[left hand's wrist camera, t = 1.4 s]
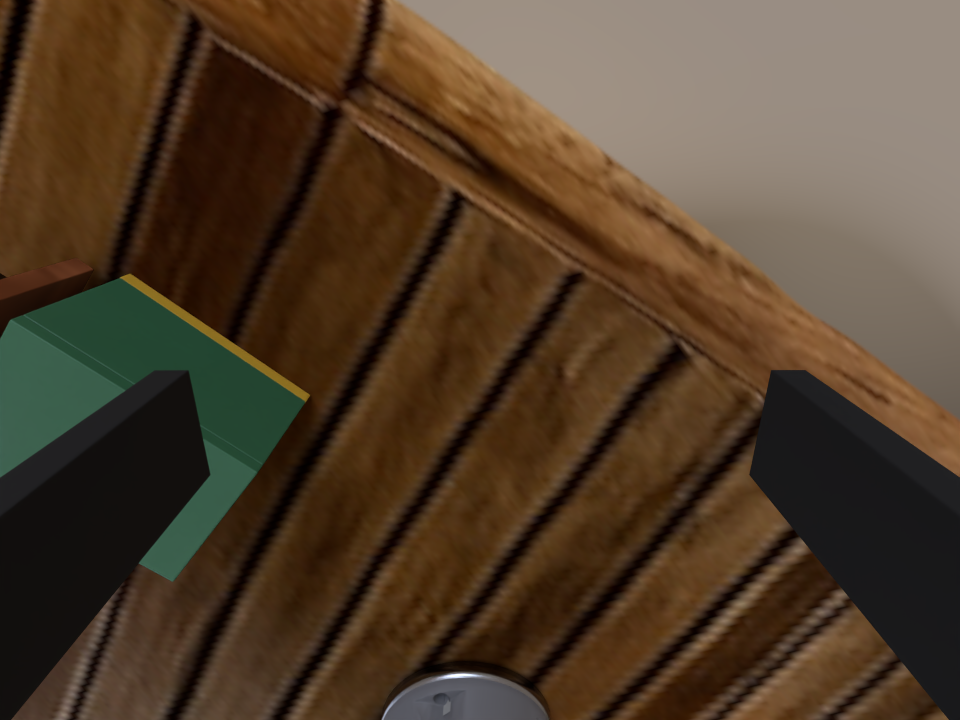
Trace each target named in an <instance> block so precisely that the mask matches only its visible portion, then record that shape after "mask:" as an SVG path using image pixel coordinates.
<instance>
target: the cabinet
mask: <svg viewBox="0 0 960 720" xmlns="http://www.w3.org/2000/svg"><path fill="white" fill-rule="evenodd" d="M154 370H189V374H190V379H191V384H192V388H193V393H194V398H195V403H196V407H197V412H198V417H199V422H200V427H201V431H202V436H203V441H204V446H205V450H206V455H207V460H208V465H209V470H210V474H211V475H210V476H209V477H208V479H207V480H206V481H205V482H204V484H203V485H202V486H201V487H200V488H199V490H198V491H197V492H196V493H195V495H194V496H193V497H192V498H191V500H190V501H189V502H188V503H187V504H186V506H185V507H184V508H183V509H182V511H181V512H180V513H179V514H178V515H177V517H176V518H175V519H174V520H173V522H172V523H171V524H170V525H169V527H168V528H167V529H166V530H165V531H164V533H163V534H162V535H161V536H160V538H159V539H158V540H157V541H156V542H155V544H154V545H153V546H152V547H151V549H150V550H149V551H148V552H147V553H146V555H145V556H144V557H143V558H142V560H141V561H140V562H139V564H141V565H143V566H145V567H146V568H148V569H150V570H152V571H154V572H156V573H157V574H159V575H161V576H163V577H165V578H167V579H168V580H170V581H174V580H175V579H176V578H177V576H178V575H179V574H180V573H181V571H182V570H183V569H184V567H185V566H186V565H187V564H188V562H189V561H190V560H191V558H192V557H193V556H194V555H195V553H196V552H197V551H198V549H199V548H200V547H201V545H202V544H203V543H204V542H205V540H206V539H207V538H208V536H209V535H210V534H211V533H212V531H213V530H214V529H215V527H216V526H217V525H218V524H219V522H220V521H221V520H222V518H223V517H224V516H225V515H226V513H227V512H228V511H229V509H230V508H231V507H232V505H233V504H234V503H235V502H236V500H237V499H238V498H239V496H240V495H241V494H242V493H243V491H244V490H245V489H246V487H247V486H248V485H249V484H250V482H251V481H252V480H253V478H254V477H255V476H256V475H257V473H258V472H259V470H260V469H261V467H262V466H263V464H264V463H265V461H266V460H267V458H268V457H269V456H270V454H271V453H272V451H273V450H274V448H275V447H276V445H277V444H278V442H279V441H280V439H281V438H282V436H283V435H284V433H285V432H286V430H287V429H288V427H289V426H290V424H291V423H292V421H293V420H294V419H295V417H296V416H297V414H298V413H299V411H300V410H301V408H302V407H303V405H304V404H305V403H306V401H307V400H308V398H309V397H310V395H309V394H308V393H306V392H305V391H303V390H302V389H300V388H299V387H297V386H296V385H294V384H293V383H292V382H290V381H289V380H287V379H286V378H284V377H283V376H281V375H280V374H278V373H277V372H275V371H274V370H272V369H271V368H269V367H268V366H266V365H265V364H263V363H262V362H260V361H259V360H257V359H256V358H254V357H253V356H251V355H250V354H248V353H247V352H246V351H244V350H243V349H241V348H240V347H238V346H237V345H235V344H234V343H232V342H231V341H229V340H228V339H226V338H225V337H223V336H222V335H220V334H219V333H217V332H216V331H214V330H213V329H211V328H210V327H208V326H207V325H205V324H204V323H202V322H201V321H200V320H198V319H197V318H195V317H194V316H192V315H191V314H189V313H188V312H186V311H185V310H183V309H182V308H180V307H179V306H177V305H176V304H174V303H173V302H171V301H170V300H168V299H167V298H165V297H164V296H162V295H161V294H159V293H158V292H156V291H155V290H154V289H152V288H151V287H149V286H148V285H146V284H145V283H143V282H142V281H140V280H139V279H137V278H136V277H134V276H133V275H131V274H128V275H125V276H123V277H120V278H119V279H116V280H114V281H111V282H109V283H106V284H103V285H101V286H98V287H95V288H93V289H90V290H87V291H85V292H82V293H79V294H77V295H74V296H71V297H69V298H66V299H64V300H61V301H58V302H56V303H53V304H50V305H48V306H45V307H42V308H40V309H37V310H34V311H32V312H29V313H27V314H24V315H21V316H19V317H16V318H14V319H11V320H10V321H9V323H8V325H7V327H6V329H5V331H4V333H3V335H2V337H1V339H0V477H2V476H3V475H5V474H6V473H7V472H9V471H10V470H12V469H13V468H15V467H16V466H18V465H19V464H20V463H22V462H23V461H25V460H26V459H28V458H29V457H31V456H32V455H33V454H35V453H36V452H38V451H39V450H41V449H42V448H43V447H45V446H46V445H48V444H49V443H51V442H52V441H54V440H55V439H56V438H58V437H59V436H61V435H62V434H64V433H65V432H67V431H68V430H69V429H71V428H72V427H74V426H75V425H77V424H78V423H79V422H81V421H82V420H84V419H85V418H87V417H88V416H90V415H91V414H92V413H94V412H95V411H97V410H98V409H100V408H101V407H103V406H104V405H105V404H107V403H108V402H110V401H111V400H113V399H114V398H115V397H117V396H118V395H120V394H121V393H123V392H124V391H126V390H127V389H128V388H130V387H131V386H133V385H134V384H136V383H137V382H139V381H140V380H141V379H143V378H144V377H146V376H147V375H149V374H150V373H151V372H153V371H154Z"/></svg>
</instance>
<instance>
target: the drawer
mask: <svg viewBox="0 0 960 720" xmlns="http://www.w3.org/2000/svg"><path fill="white" fill-rule="evenodd" d="M93 270H94V269H92V268H91V267H89V266H88V265H86V264H85V263H83V262H82V261H80V260H79V259H77V258H74V259H70V260H67V261H63V262H60V263H56V264H53V265H49V266H46V267H42V268H39V269H35V270H32V271H28V272H25V273H21V274H18V275H14V276H11V277H5V276H4V275H2V274H1V273H0V339H1V337H2V335H3V333H4V331H5V329H6V327H7V325H8V323H9V321H10V320H11V319H14V318H16V317H19V316H21V315H24V314H27V313H29V312H32V311H34V310H37V309H40V308H42V307H45V306H48V305H50V304H53V303H56V302H58V301H61V300H64V299H66V298H69V297H71V296H74V295H77V294H79V293H81V292H82V290H83V288H84V286H85V285H86V283H87V281H88V279H89V277H90V276H91V274H92V272H93Z"/></svg>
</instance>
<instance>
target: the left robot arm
mask: <svg viewBox="0 0 960 720" xmlns="http://www.w3.org/2000/svg"><path fill="white" fill-rule="evenodd" d="M210 475H211V474H210V470H209V465H208V460H207V455H206V450H205V446H204V441H203V436H202V431H201V427H200V422H199V417H198V412H197V407H196V403H195V398H194V393H193V388H192V384H191V379H190V374H189V370H154V371H153V372H151V373H150V374H149V375H147V376H146V377H144V378H143V379H141V380H140V381H139V382H137V383H136V384H134V385H133V386H131V387H130V388H128V389H127V390H126V391H124V392H123V393H121V394H120V395H118V396H117V397H115V398H114V399H113V400H111V401H110V402H108V403H107V404H105V405H104V406H103V407H101V408H100V409H98V410H97V411H95V412H94V413H92V414H91V415H90V416H88V417H87V418H85V419H84V420H82V421H81V422H79V423H78V424H77V425H75V426H74V427H72V428H71V429H69V430H68V431H67V432H65V433H64V434H62V435H61V436H59V437H58V438H56V439H55V440H54V441H52V442H51V443H49V444H48V445H46V446H45V447H43V448H42V449H41V450H39V451H38V452H36V453H35V454H33V455H32V456H31V457H29V458H28V459H26V460H25V461H23V462H22V463H20V464H19V465H18V466H16V467H15V468H13V469H12V470H10V471H9V472H7V473H6V474H5V475H3V476H2V477H0V720H11V719H12V718H13V717H14V715H15V714H16V713H17V712H18V711H19V709H20V708H21V707H22V706H23V704H24V703H25V702H26V701H27V699H28V698H29V697H30V696H31V695H32V693H33V692H34V691H35V690H36V688H37V687H38V686H39V685H40V684H41V682H42V681H43V680H44V679H45V677H46V676H47V675H48V674H49V672H50V671H51V670H52V669H53V668H54V666H55V665H56V664H57V663H58V661H59V660H60V659H61V658H62V657H63V655H64V654H65V653H66V652H67V650H68V649H69V648H70V647H71V645H72V644H73V643H74V642H75V641H76V639H77V638H78V637H79V636H80V634H81V633H82V632H83V631H84V630H85V628H86V627H87V626H88V625H89V623H90V622H91V621H92V620H93V619H94V617H95V616H96V615H97V614H98V612H99V611H100V610H101V609H102V607H103V606H104V605H105V604H106V603H107V601H108V600H109V599H110V598H111V596H112V595H113V594H114V593H115V592H116V590H117V589H118V588H119V587H120V585H121V584H122V583H123V582H124V580H125V579H126V578H127V577H128V576H129V574H130V573H131V572H132V571H133V569H134V568H135V567H136V566H137V565H138V563H139V562H140V561H141V560H142V558H143V557H144V556H145V555H146V553H147V552H148V551H149V550H150V549H151V547H152V546H153V545H154V544H155V542H156V541H157V540H158V539H159V538H160V536H161V535H162V534H163V533H164V531H165V530H166V529H167V528H168V527H169V525H170V524H171V523H172V522H173V520H174V519H175V518H176V517H177V515H178V514H179V513H180V512H181V511H182V509H183V508H184V507H185V506H186V504H187V503H188V502H189V501H190V500H191V498H192V497H193V496H194V495H195V493H196V492H197V491H198V490H199V488H200V487H201V486H202V485H203V484H204V482H205V481H206V480H207V479H208V477H209V476H210ZM749 475H750V476H751V477H752V479H753V480H754V481H755V482H756V484H757V485H758V486H759V487H760V488H761V490H762V491H763V492H764V493H765V495H766V496H767V497H768V498H769V500H770V501H771V502H772V503H773V504H774V506H775V507H776V508H777V509H778V511H779V512H780V513H781V514H782V515H783V517H784V518H785V519H786V520H787V522H788V523H789V524H790V525H791V527H792V528H793V529H794V530H795V531H796V533H797V534H798V535H799V536H800V538H801V539H802V540H803V541H804V542H805V544H806V545H807V546H808V547H809V549H810V550H811V551H812V552H813V553H814V555H815V556H816V557H817V558H818V560H819V561H820V562H821V563H822V565H823V566H824V567H825V568H826V569H827V571H828V572H829V573H830V574H831V576H832V577H833V578H834V579H835V580H836V582H837V583H838V584H839V585H840V587H841V588H842V589H843V590H844V592H845V593H846V594H847V595H848V596H849V598H850V599H851V600H852V601H853V603H854V604H855V605H856V606H857V607H858V609H859V610H860V611H861V612H862V614H863V615H864V616H865V617H866V619H867V620H868V621H869V622H870V623H871V625H872V626H873V627H874V628H875V630H876V631H877V632H878V633H879V634H880V636H881V637H882V638H883V639H884V641H885V642H886V643H887V644H888V645H889V647H890V648H891V649H892V650H893V652H894V653H895V654H896V655H897V657H898V658H899V659H900V660H901V661H902V663H903V664H904V665H905V666H906V668H907V669H908V670H909V671H910V672H911V674H912V675H913V676H914V677H915V679H916V680H917V681H918V682H919V684H920V685H921V686H922V687H923V688H924V690H925V691H926V692H927V693H928V695H929V696H930V697H931V698H932V699H933V701H934V702H935V703H936V704H937V706H938V707H939V708H940V709H941V711H942V712H943V713H944V714H945V715H946V717H947V718H948V719H949V720H960V477H958V476H957V475H955V474H954V473H953V472H951V471H950V470H948V469H947V468H945V467H944V466H942V465H941V464H940V463H938V462H937V461H935V460H934V459H932V458H931V457H929V456H928V455H927V454H925V453H924V452H922V451H921V450H919V449H918V448H917V447H915V446H914V445H912V444H911V443H909V442H908V441H906V440H905V439H904V438H902V437H901V436H899V435H898V434H896V433H895V432H893V431H892V430H891V429H889V428H888V427H886V426H885V425H883V424H882V423H881V422H879V421H878V420H876V419H875V418H873V417H872V416H870V415H869V414H868V413H866V412H865V411H863V410H862V409H860V408H859V407H857V406H856V405H855V404H853V403H852V402H850V401H849V400H847V399H846V398H845V397H843V396H842V395H840V394H839V393H837V392H836V391H834V390H833V389H832V388H830V387H829V386H827V385H826V384H824V383H823V382H821V381H820V380H819V379H817V378H816V377H814V376H813V375H811V374H810V373H809V372H807V371H806V370H771V374H770V379H769V384H768V388H767V393H766V398H765V403H764V407H763V412H762V417H761V422H760V427H759V431H758V436H757V441H756V446H755V450H754V455H753V460H752V465H751V470H750V474H749ZM381 720H550V713H549V708H548V705H547V703H546V701H545V699H544V697H543V696H542V694H541V693H540V692H539V690H538V689H537V688H536V687H535V686H534V685H533V684H532V683H530V682H529V681H528V680H527V679H525V678H524V677H522V676H520V675H519V674H517V673H515V672H513V671H510V670H508V669H505V668H503V667H500V666H496V665H492V664H487V663H481V662H467V661H464V662H450V663H443V664H438V665H435V666H431V667H428V668H425V669H423V670H420V671H418V672H416V673H414V674H412V675H411V676H409V677H407V678H406V679H405V680H403V681H402V682H401V683H400V684H398V685H397V686H396V688H395V689H394V690H393V691H392V692H391V694H390V695H389V697H388V698H387V700H386V703H385V705H384V709H383V713H382V719H381Z"/></svg>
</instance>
